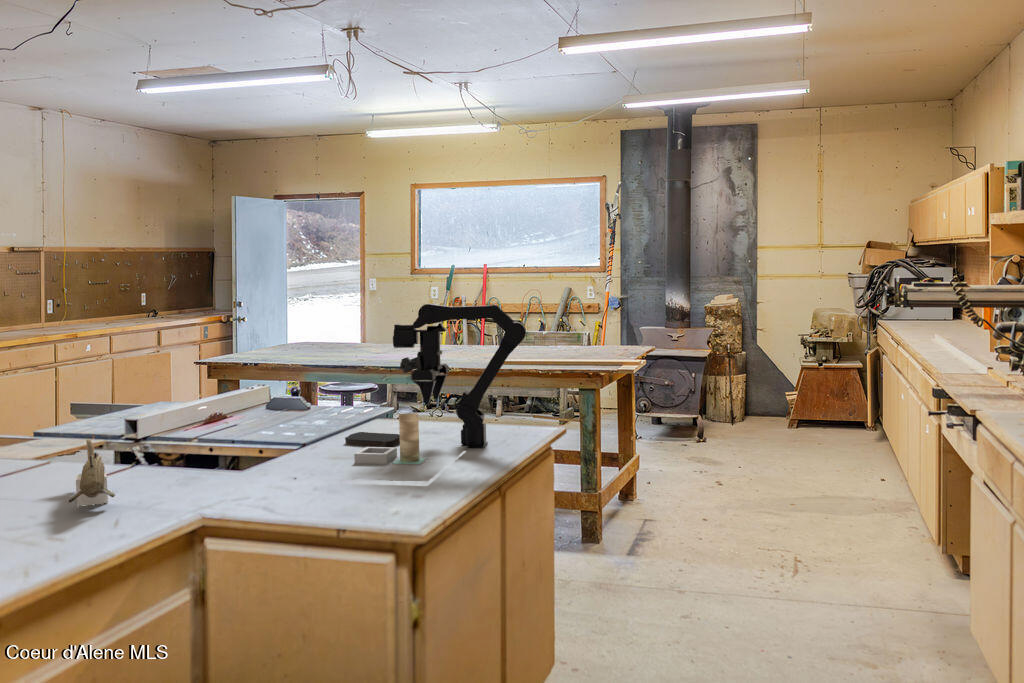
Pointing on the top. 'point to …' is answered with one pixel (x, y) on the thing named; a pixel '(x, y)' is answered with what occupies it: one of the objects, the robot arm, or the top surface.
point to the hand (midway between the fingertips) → (431, 401)
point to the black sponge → (373, 439)
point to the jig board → (383, 456)
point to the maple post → (409, 437)
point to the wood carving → (92, 481)
